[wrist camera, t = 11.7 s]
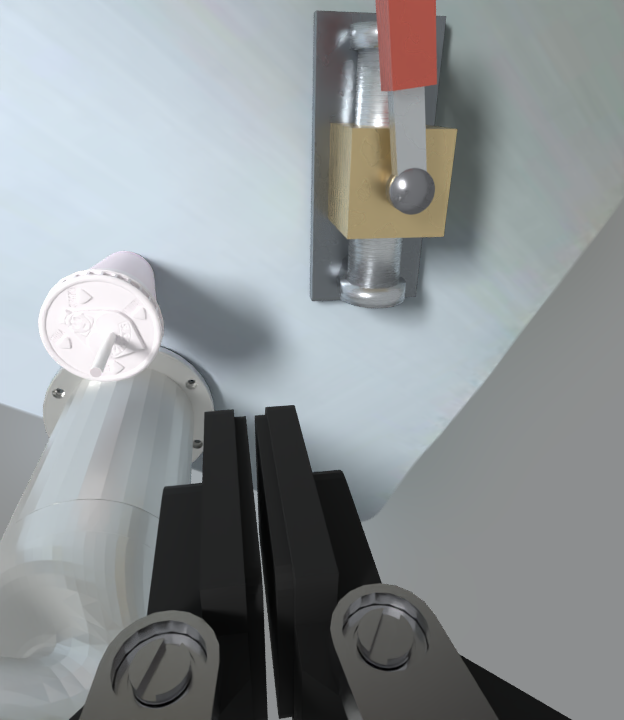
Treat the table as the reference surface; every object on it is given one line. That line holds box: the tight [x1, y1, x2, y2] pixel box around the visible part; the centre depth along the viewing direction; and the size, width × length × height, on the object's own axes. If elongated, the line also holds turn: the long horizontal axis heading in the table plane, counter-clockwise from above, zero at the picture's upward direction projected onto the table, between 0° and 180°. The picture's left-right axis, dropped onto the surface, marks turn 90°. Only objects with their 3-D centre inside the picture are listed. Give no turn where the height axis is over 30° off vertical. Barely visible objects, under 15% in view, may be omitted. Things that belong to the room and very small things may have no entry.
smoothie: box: [39, 251, 164, 382], centre depth 31 cm, size 6×6×14 cm
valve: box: [310, 11, 457, 308], centre depth 33 cm, size 18×8×8 cm, turn 179°
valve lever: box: [376, 0, 437, 215], centre depth 26 cm, size 11×2×2 cm, turn 7°
